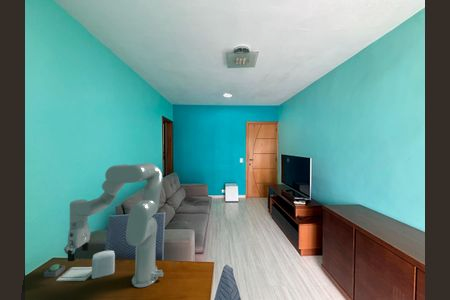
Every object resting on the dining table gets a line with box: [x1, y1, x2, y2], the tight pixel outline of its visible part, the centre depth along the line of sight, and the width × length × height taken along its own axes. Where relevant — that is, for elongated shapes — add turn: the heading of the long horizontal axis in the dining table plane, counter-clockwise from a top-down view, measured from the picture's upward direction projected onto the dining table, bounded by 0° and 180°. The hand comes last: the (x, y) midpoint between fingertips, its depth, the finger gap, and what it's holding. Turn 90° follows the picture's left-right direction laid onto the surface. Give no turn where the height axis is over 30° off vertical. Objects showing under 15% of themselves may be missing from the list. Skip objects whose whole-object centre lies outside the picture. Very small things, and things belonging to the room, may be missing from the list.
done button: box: [49, 263, 60, 272], centre depth 98 cm, size 4×4×2 cm
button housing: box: [43, 264, 66, 278], centre depth 98 cm, size 6×6×2 cm
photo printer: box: [91, 250, 116, 280], centre depth 97 cm, size 10×4×12 cm, turn 116°
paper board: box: [56, 266, 92, 282], centre depth 97 cm, size 14×10×1 cm
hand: (78, 255), depth 97 cm, fingers open, 9 cm apart
